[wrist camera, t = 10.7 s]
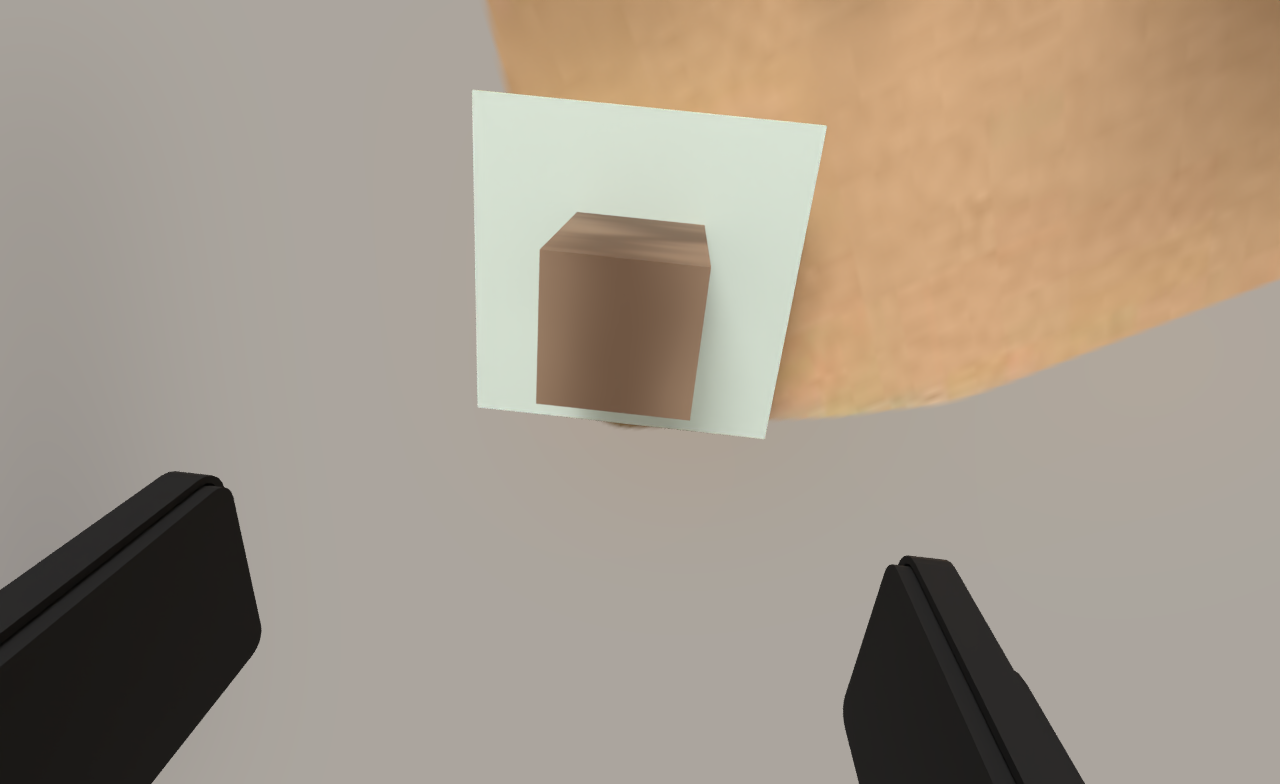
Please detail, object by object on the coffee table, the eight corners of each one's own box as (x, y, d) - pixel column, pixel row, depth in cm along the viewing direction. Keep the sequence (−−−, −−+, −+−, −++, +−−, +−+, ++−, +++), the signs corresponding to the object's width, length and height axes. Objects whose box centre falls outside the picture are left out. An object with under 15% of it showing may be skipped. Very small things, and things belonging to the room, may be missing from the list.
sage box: (799, 121, 28) (827, 125, 23) (752, 385, 34) (764, 439, 28) (512, 92, 29) (472, 89, 23) (510, 358, 34) (477, 407, 29)
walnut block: (704, 224, 25) (711, 267, 18) (688, 345, 27) (689, 420, 20) (577, 211, 25) (539, 249, 18) (571, 332, 27) (536, 403, 20)
